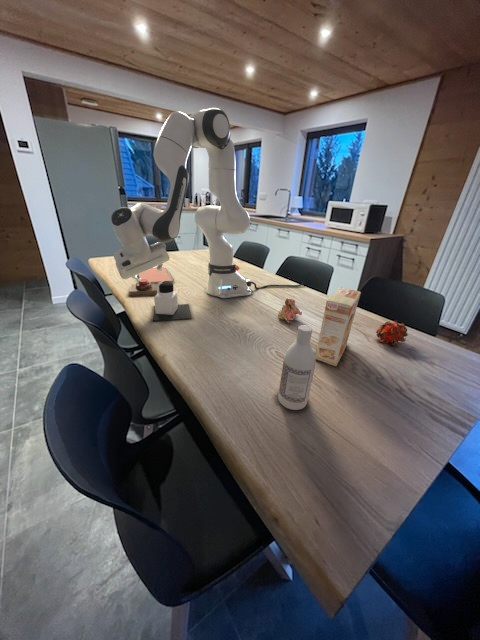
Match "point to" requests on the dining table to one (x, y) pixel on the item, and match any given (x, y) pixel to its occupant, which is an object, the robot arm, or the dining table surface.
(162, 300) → the medicine bottle
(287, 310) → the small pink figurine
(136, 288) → the button box
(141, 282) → the button
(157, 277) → the notebook
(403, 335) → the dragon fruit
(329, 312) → the coffeecake box
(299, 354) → the bath foam
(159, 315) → the mat
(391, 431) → the dining table surface
